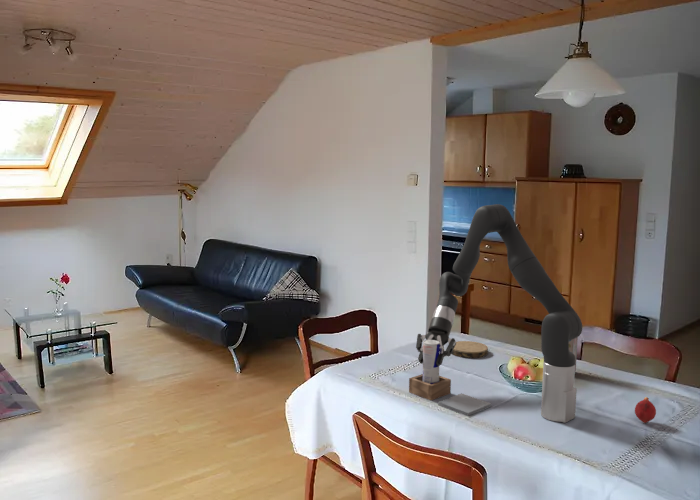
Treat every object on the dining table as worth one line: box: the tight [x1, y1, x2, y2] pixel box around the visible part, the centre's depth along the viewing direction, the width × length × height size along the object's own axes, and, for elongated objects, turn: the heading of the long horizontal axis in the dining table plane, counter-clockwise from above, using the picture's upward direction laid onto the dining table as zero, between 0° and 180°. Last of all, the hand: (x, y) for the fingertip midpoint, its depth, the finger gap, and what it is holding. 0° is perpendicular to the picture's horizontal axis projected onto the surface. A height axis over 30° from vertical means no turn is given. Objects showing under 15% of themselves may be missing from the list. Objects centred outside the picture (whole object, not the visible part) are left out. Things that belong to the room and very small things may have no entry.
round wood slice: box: [451, 340, 489, 359], centre depth 255 cm, size 16×16×3 cm
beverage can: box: [422, 339, 440, 384], centre depth 207 cm, size 6×6×15 cm
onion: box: [634, 397, 657, 424], centre depth 184 cm, size 6×6×8 cm
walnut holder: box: [408, 373, 452, 401], centre depth 208 cm, size 10×10×5 cm
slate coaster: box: [438, 392, 492, 417], centre depth 197 cm, size 12×12×1 cm
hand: (429, 363), depth 205 cm, fingers closed on beverage can, 5 cm apart
